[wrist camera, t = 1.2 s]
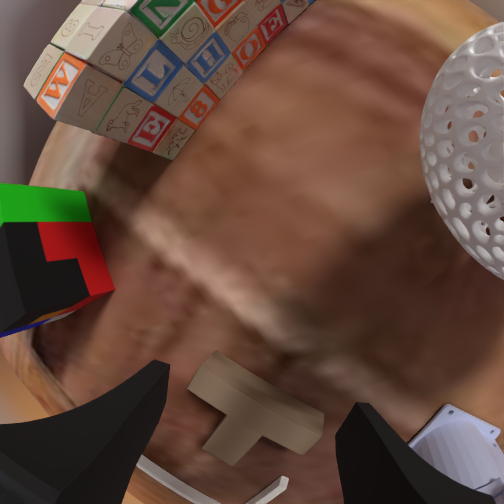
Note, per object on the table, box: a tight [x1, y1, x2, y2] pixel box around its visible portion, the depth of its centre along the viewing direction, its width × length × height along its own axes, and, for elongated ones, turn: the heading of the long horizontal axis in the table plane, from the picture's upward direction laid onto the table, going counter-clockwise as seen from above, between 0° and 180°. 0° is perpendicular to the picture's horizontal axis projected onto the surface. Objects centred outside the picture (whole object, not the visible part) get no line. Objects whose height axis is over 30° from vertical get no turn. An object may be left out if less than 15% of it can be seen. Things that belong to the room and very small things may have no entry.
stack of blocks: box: [24, 0, 315, 160], centre depth 14 cm, size 21×6×12 cm, turn 141°
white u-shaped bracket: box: [136, 455, 289, 504], centre depth 23 cm, size 15×11×2 cm
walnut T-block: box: [187, 350, 325, 466], centre depth 20 cm, size 10×8×3 cm
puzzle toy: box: [0, 183, 115, 338], centre depth 21 cm, size 10×10×10 cm
